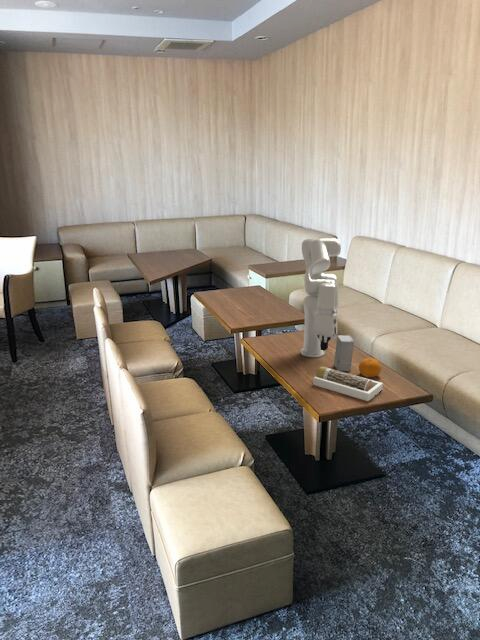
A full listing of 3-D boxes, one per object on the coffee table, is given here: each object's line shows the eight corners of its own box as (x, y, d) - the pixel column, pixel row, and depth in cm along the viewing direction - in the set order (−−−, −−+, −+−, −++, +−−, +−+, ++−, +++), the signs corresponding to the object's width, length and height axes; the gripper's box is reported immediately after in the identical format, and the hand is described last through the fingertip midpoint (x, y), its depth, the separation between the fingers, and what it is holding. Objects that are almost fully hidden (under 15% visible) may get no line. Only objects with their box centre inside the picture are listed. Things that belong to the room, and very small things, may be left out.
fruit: (354, 376, 249) (355, 360, 247) (363, 369, 257) (365, 354, 255) (375, 381, 243) (376, 365, 241) (384, 374, 251) (385, 358, 249)
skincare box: (333, 365, 262) (335, 335, 257) (347, 364, 263) (349, 334, 258) (337, 371, 254) (339, 340, 249) (352, 371, 255) (354, 340, 250)
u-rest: (328, 375, 250) (328, 368, 249) (382, 390, 234) (382, 383, 233) (313, 384, 240) (313, 377, 239) (368, 401, 224) (369, 393, 223)
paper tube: (324, 372, 248) (373, 387, 232) (317, 383, 244) (366, 398, 229) (321, 362, 244) (371, 377, 228) (314, 373, 240) (364, 388, 225)
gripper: (345, 312, 233) (342, 351, 238) (315, 306, 242) (314, 344, 247) (336, 315, 227) (334, 355, 233) (307, 309, 236) (305, 348, 242)
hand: (323, 349), depth 240 cm, fingers closed
